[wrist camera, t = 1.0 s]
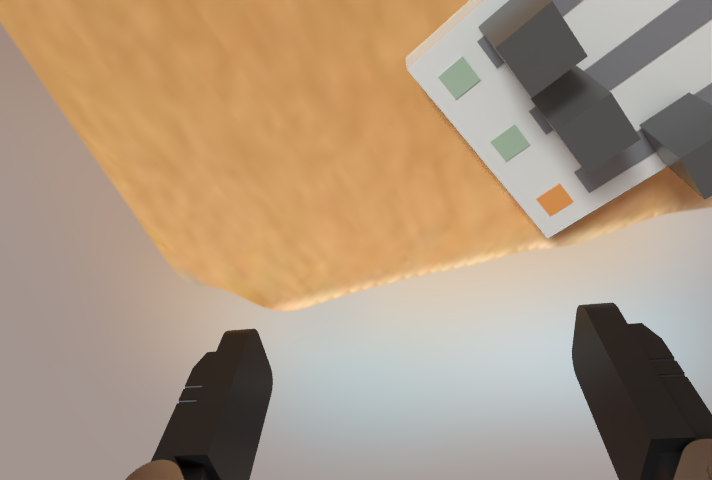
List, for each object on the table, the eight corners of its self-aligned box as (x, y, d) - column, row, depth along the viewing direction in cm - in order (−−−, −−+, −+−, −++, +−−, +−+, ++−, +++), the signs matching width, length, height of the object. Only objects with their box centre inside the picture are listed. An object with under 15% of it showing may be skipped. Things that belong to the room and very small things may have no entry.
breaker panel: (727, -233, 23) (875, -301, 16) (831, 32, 29) (972, 67, 22) (405, 57, 31) (409, 96, 24) (537, 217, 37) (571, 286, 30)
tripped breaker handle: (689, 92, 28) (740, 121, 24) (711, 131, 29) (763, 166, 25) (639, 125, 29) (679, 158, 25) (662, 161, 31) (704, 199, 26)
